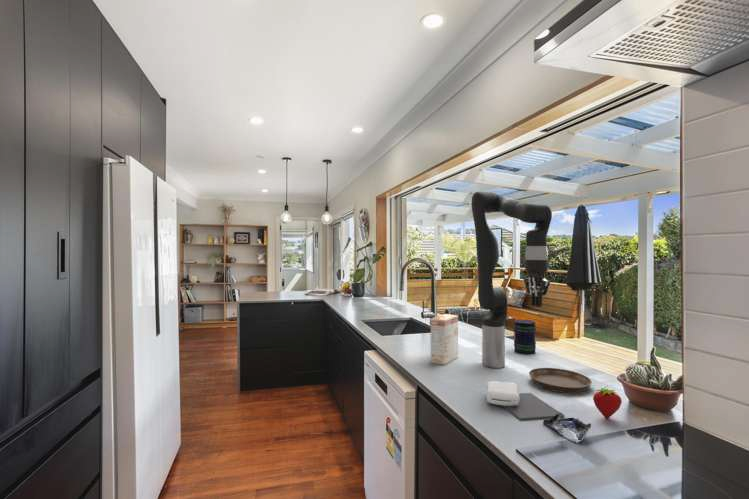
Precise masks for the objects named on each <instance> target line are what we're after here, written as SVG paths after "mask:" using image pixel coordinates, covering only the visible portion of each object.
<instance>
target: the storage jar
mask: <svg viewBox="0 0 749 499" xmlns="http://www.w3.org/2000/svg"><path fill="white" fill-rule="evenodd" d="M513 321H514V324H513V333H514V339H513V348H514V349H513V350H514V353H515V354H518V355H524V354H525V355H527V356H528V355H529V356H531V355H530V354H533V355H536V349H537V345H536V343H537V342H536V332H537V331H536V328H537V327H536V321H534V320H531V319H514V320H513Z"/></svg>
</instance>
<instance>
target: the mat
mask: <svg viewBox="0 0 749 499" xmlns="http://www.w3.org/2000/svg"><path fill="white" fill-rule="evenodd" d="M519 397H520V401H519V403H518V406H502V407H504V409H506V410H507V411H508V412H509V413H511V415H513V416H514V417H516V419H518V420H519V421H529V420H530V421H531V420H544V419H545V420H547V419H552V418H553V417H554V416H555V415H556V414H558V413H561V412H560V411H558V410H557V409H556V408H555V407H552V405H549V404H548V403H547V402H545V401H543V400H542V399H541V398H540V397H537V396H536V395H534V394H533V393H532V392H523V393H521V392H519ZM561 418H565V414H563V415H562V416H561V417H559V418H558V419H561Z"/></svg>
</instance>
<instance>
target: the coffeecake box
mask: <svg viewBox="0 0 749 499" xmlns="http://www.w3.org/2000/svg"><path fill="white" fill-rule="evenodd" d="M457 358H459V315H458V314H457V315H456V314H449V313H444V314H441V315H438V316H435V317H431V318H430V363H432V364H438V365H443V366H445V365H447V364H449V363H450V362H452V361H454V360H455V359H457Z"/></svg>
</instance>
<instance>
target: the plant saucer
mask: <svg viewBox="0 0 749 499" xmlns="http://www.w3.org/2000/svg"><path fill="white" fill-rule="evenodd" d="M528 374H529V377H530V378H531V380H532V381H533V382H534V383H535V384H536V385H537V386H539V387H541V388H543V389H546V390H549V391H553V392H556V393H566V394H575V393H582V392H584V391H586V390H588V388H590V386H591V385H592V379H590V378H589V377H588V376H586V375H584V374H582V373H579V372H576V371H572V370H567V369H564V368H563V369H562V368H555V367H537V368H534V369H531V370H529V371H528Z"/></svg>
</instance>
